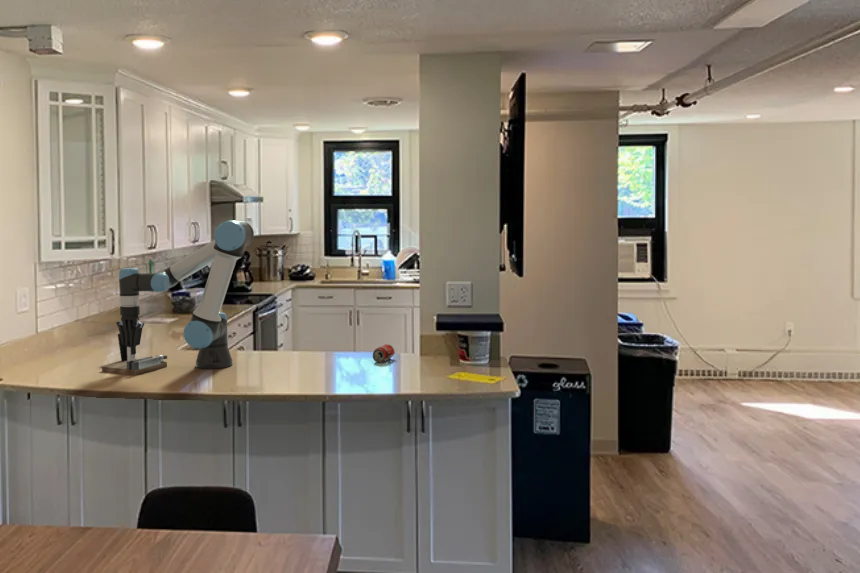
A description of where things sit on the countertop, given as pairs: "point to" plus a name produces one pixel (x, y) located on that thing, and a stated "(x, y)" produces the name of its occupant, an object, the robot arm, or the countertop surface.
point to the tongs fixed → (148, 362)
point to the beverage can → (383, 353)
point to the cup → (122, 349)
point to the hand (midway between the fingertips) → (131, 362)
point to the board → (123, 369)
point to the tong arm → (129, 363)
